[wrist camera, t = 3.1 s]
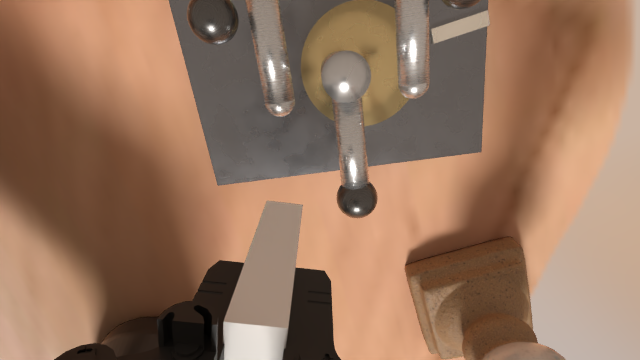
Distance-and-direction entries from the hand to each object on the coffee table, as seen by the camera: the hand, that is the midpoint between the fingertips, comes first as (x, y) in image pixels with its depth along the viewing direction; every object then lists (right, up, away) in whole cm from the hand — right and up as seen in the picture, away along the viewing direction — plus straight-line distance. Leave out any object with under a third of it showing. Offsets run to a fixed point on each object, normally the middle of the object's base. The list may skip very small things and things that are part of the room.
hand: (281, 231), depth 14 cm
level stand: (+3, +11, +12) cm, 17 cm away
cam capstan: (+3, +9, +11) cm, 14 cm away
